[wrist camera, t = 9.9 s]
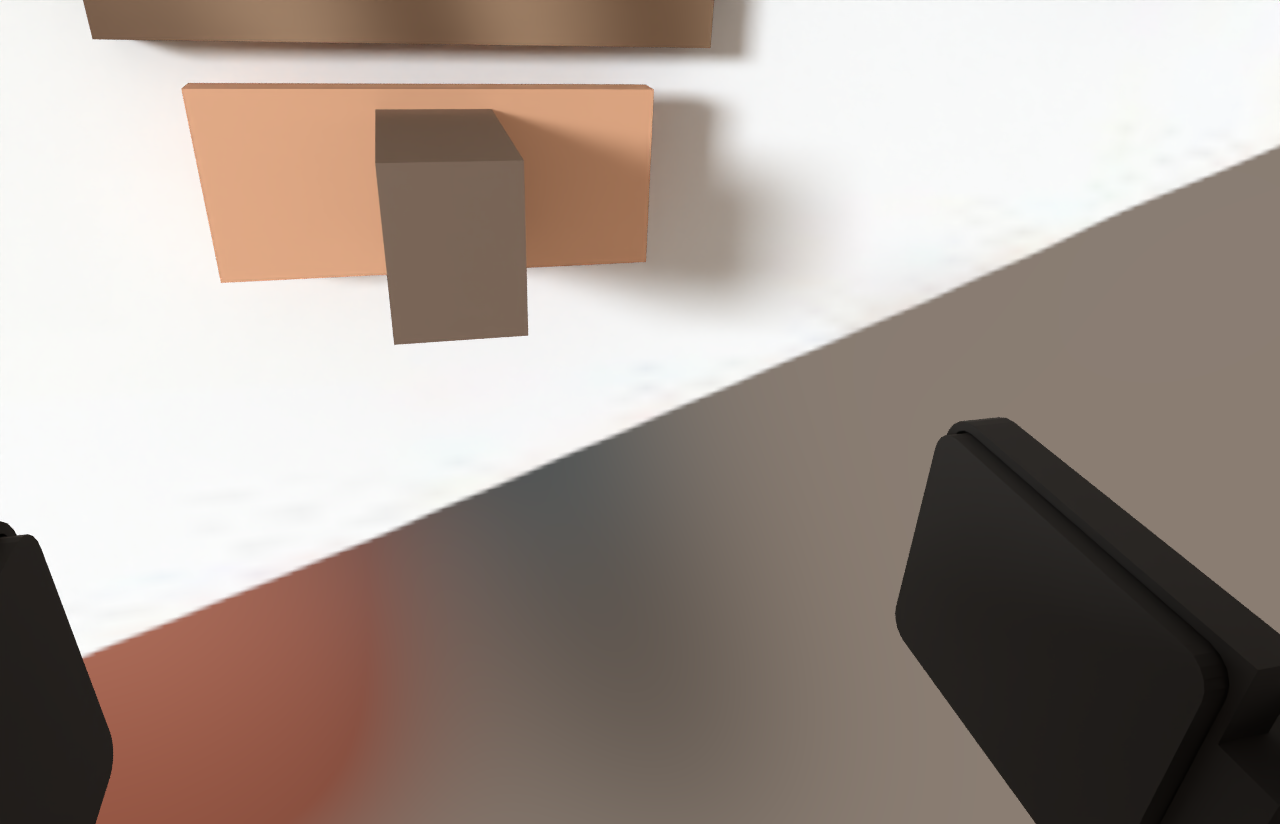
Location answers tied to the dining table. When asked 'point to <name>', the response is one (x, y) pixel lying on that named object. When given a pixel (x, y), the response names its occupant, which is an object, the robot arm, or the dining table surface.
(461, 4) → the board
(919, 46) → the dining table surface
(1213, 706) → the robot arm
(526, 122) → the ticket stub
